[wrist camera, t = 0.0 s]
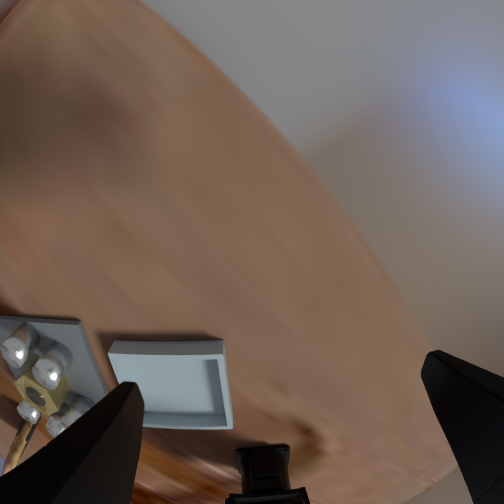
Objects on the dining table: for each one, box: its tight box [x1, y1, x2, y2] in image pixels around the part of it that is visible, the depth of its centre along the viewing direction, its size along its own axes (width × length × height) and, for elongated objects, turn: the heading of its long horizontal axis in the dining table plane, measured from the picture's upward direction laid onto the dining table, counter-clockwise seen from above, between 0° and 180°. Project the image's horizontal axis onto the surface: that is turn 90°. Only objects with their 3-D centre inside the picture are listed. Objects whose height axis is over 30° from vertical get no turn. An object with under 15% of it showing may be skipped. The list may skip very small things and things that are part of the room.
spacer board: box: [0, 315, 109, 405], centre depth 24 cm, size 14×14×1 cm
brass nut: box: [14, 355, 71, 415], centre depth 22 cm, size 6×5×4 cm
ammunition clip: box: [2, 417, 41, 475], centre depth 23 cm, size 11×2×12 cm, turn 138°
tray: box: [108, 340, 233, 429], centre depth 24 cm, size 10×10×2 cm
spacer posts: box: [0, 322, 95, 437], centre depth 22 cm, size 14×10×4 cm
